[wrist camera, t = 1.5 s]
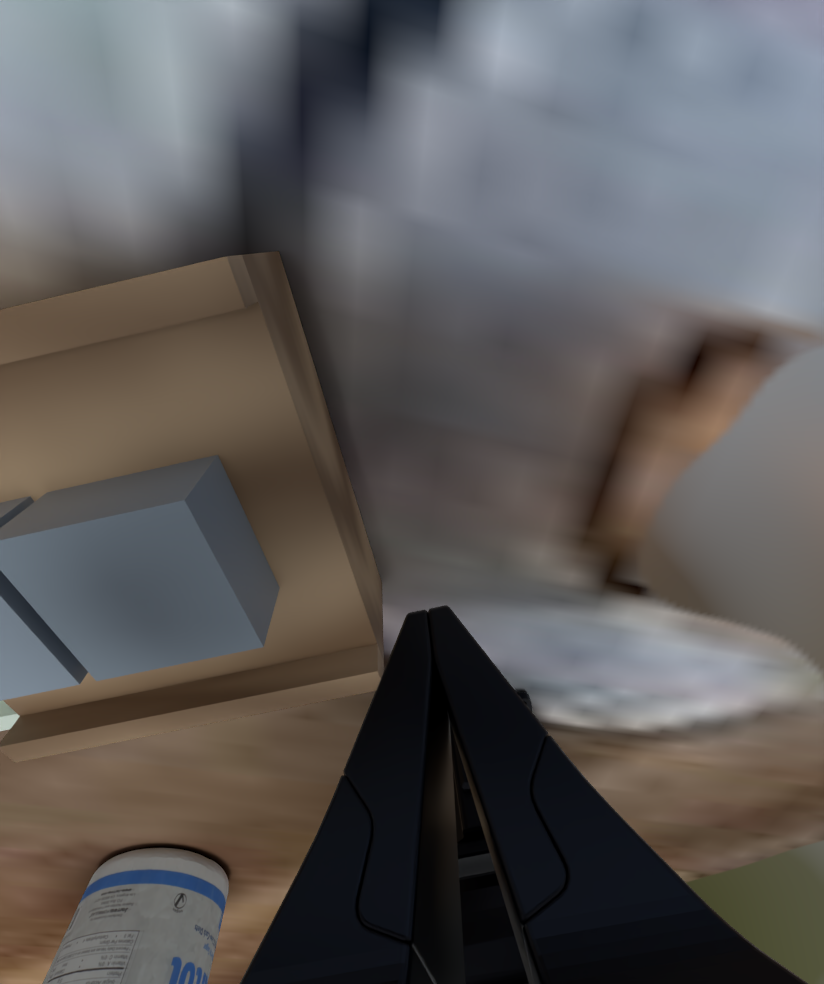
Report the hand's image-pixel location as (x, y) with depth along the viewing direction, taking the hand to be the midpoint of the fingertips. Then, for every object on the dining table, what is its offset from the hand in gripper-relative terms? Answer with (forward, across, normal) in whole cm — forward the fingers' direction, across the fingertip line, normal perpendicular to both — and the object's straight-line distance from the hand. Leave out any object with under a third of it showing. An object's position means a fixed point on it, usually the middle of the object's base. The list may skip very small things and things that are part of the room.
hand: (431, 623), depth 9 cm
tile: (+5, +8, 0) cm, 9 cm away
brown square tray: (+10, +10, 0) cm, 14 cm away
